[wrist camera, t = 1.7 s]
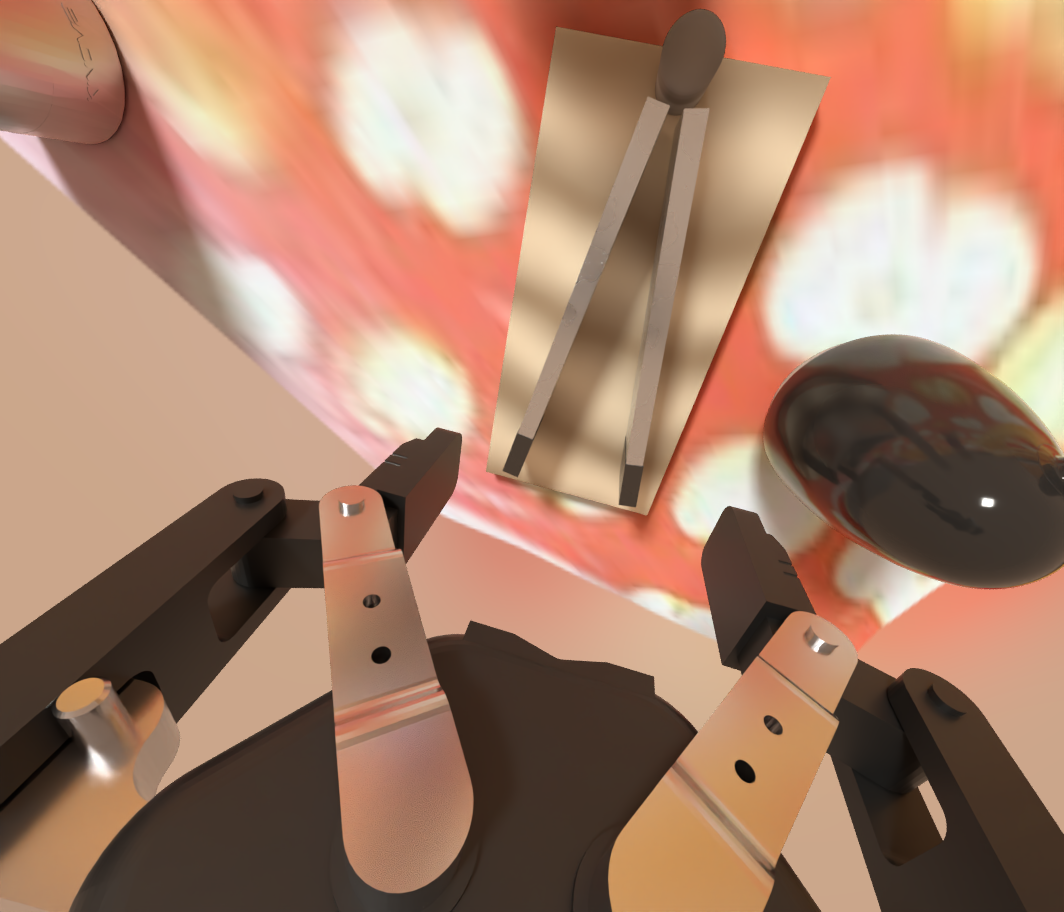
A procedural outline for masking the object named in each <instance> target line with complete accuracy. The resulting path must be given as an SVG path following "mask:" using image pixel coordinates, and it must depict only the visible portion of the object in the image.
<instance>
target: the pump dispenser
mask: <svg viewBox="0 0 1064 912" xmlns="http://www.w3.org/2000/svg"><path fill="white" fill-rule="evenodd" d="M763 439H764V447H765V451H766V455H767V457H768V460H769V462H770V464H771V466H772V467H773V469H774V471H775V472H776V474H777V475H778V477H779V478H780V479H781V481H782V482H783V483H784V484H785V485H786V487H787V488H788V489H789V490H790V491H791V492H792V493H793V494H794V495H795V496H796V497H797V498H798V499H799V500H800V501H801V502H802V503H803V504H804V505H805V506H806V507H807V508H808V509H809V510H810V511H812V512H813V513H814V514H815V515H816V516H817V517H819V518H820V519H821V520H822V521H824V522H825V523H826V524H828V525H829V526H830V527H832V528H833V529H834V530H836V531H837V532H839V533H840V534H842V535H843V536H845V537H846V538H848V539H850V540H851V541H853V542H855V543H856V544H858V545H860V546H861V547H863V548H865V549H867V550H869V551H870V552H872V553H874V554H876V555H878V556H880V557H882V558H884V559H886V560H888V561H890V562H892V563H894V564H896V565H898V566H900V567H903V568H905V569H907V570H910V571H912V572H915V573H917V574H920V575H923V576H926V577H928V578H931V579H935V580H938V581H941V582H945V583H948V584H953V585H957V586H962V587H968V588H975V589H1006V588H1013V587H1018V586H1023V585H1027V584H1031V583H1034V582H1037V581H1039V580H1042V579H1044V578H1046V577H1048V576H1050V575H1052V574H1054V573H1055V572H1057V571H1058V570H1060V569H1061V568H1062V567H1064V453H1063V451H1062V449H1061V448H1060V446H1059V444H1058V443H1057V441H1056V440H1055V438H1054V437H1053V435H1052V434H1051V432H1050V431H1049V429H1048V428H1047V427H1046V425H1045V424H1044V423H1043V422H1042V421H1041V419H1040V418H1039V417H1038V416H1037V415H1036V413H1035V412H1034V411H1033V410H1032V409H1031V408H1030V407H1029V406H1028V405H1027V404H1026V403H1025V402H1024V401H1023V400H1022V399H1021V398H1020V397H1019V396H1018V395H1017V394H1016V393H1015V392H1014V391H1013V390H1012V389H1011V388H1009V387H1008V386H1007V385H1006V384H1005V383H1003V382H1002V381H1001V380H999V379H998V378H997V377H996V376H994V375H993V374H991V373H990V372H989V371H987V370H986V369H984V368H983V367H981V366H980V365H978V364H977V363H975V362H974V361H972V360H971V359H969V358H967V357H966V356H964V355H962V354H961V353H959V352H957V351H955V350H953V349H951V348H949V347H946V346H944V345H942V344H939V343H937V342H934V341H931V340H928V339H924V338H920V337H915V336H909V335H895V334H891V335H877V336H870V337H865V338H860V339H856V340H853V341H850V342H847V343H843V344H840V345H837V346H834V347H831V348H829V349H826V350H824V351H822V352H820V353H818V354H816V355H814V356H813V357H811V358H809V359H808V360H806V361H805V362H803V363H802V364H801V365H799V366H798V367H797V368H796V369H795V370H794V371H793V372H791V373H790V375H789V376H788V377H787V378H786V379H785V380H784V381H783V383H782V384H781V385H780V387H779V388H778V390H777V392H776V394H775V395H774V397H773V400H772V402H771V405H770V408H769V410H768V413H767V416H766V419H765V424H764V432H763Z"/></svg>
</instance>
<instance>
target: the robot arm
mask: <svg viewBox="0 0 1064 912" xmlns="http://www.w3.org/2000/svg"><path fill="white" fill-rule="evenodd" d="M124 106H125V87H124V81H123V75H122V69H121V65H120V62H119V58H118V55H117V52H116V48H115V45H114V43H113V41H112V39H111V36H110V34H109V32H108V29H107V27H106V25H105V23H104V21H103V20H102V18H101V16H100V14H99V13H98V11H97V9H96V7H95V6H94V4H93V3H92V1H91V0H0V130H1V131H8V132H12V133H18V134H25V135H31V136H38V137H44V138H51V139H57V140H64V141H70V142H77V143H83V144H99V143H101V142H104V141H106V140H108V139H109V138H110V137H111V136H112V135H113V134H114V133H115V132H116V131H117V129H118V127H119V125H120V123H121V121H122V117H123V111H124ZM461 444H462V435H461V434H460V433H456V432H453V431H449V430H445V429H441V428H436V429H435V430H434V431H433V432H432V433H431V434H430V435H429V436H428V437H427V438H426V439H425V440H421V439H417V438H416V439H414V440H411V441H409V442H406V443H404V444H402V445H401V446H400V447H399V448H398V449H396V450H395V451H394V452H393V454H392V455H390V456H389V457H388V458H387V459H386V460H385V462H383V463H382V464H381V465H380V466H379V467H378V468H377V469H375V470H374V471H373V472H372V473H371V474H370V475H369V476H368V477H367V478H366V479H365V480H364V481H363V482H362V483H361V484H360V485H359V486H356V485H353V486H344V487H340V488H336V489H334V490H332V491H330V492H328V493H327V494H325V495H324V496H323V497H322V499H321V500H320V501H309V500H290V499H285V493H284V489H283V487H282V486H281V485H280V484H279V483H277V482H275V481H272V480H268V479H246V480H241V481H237V482H234V483H231V484H229V485H227V486H225V487H223V488H221V489H220V490H218V491H217V492H216V493H214V494H213V495H211V496H210V497H208V498H207V499H206V500H204V501H203V502H202V503H200V504H199V505H197V506H196V507H194V508H193V509H191V510H190V511H189V512H187V513H186V514H184V515H183V516H182V517H180V518H179V519H177V520H176V521H174V522H173V523H172V524H170V525H169V526H167V527H166V528H165V529H163V530H162V531H160V532H159V533H157V534H156V535H155V536H153V537H152V538H150V539H149V540H148V541H146V542H145V543H143V544H142V545H141V546H139V547H138V548H136V549H135V550H134V551H132V552H131V553H129V554H128V555H126V556H125V557H124V558H122V559H121V560H119V561H118V562H116V563H115V564H113V565H112V566H111V567H109V568H108V569H106V570H105V571H104V572H102V573H101V574H99V575H98V576H97V577H95V578H94V579H92V580H91V581H89V582H88V583H87V584H85V585H84V586H82V587H81V588H79V589H78V590H77V591H75V592H74V593H73V594H71V595H70V596H68V597H67V598H65V599H64V600H62V601H61V602H60V603H58V604H57V605H56V606H54V607H53V608H51V609H50V610H48V611H47V612H45V613H44V614H43V615H41V616H40V617H38V618H37V619H36V620H34V621H33V622H31V623H30V624H28V625H27V626H26V627H24V628H23V629H21V630H20V631H19V632H17V633H16V634H14V635H13V636H11V637H10V638H9V639H7V640H6V641H4V642H3V643H1V644H0V912H821V910H820V909H819V908H818V906H817V905H816V903H815V902H814V900H813V899H812V897H811V896H810V894H809V893H808V891H807V890H806V888H805V887H804V886H803V884H802V883H801V881H800V880H799V878H798V877H797V875H796V874H795V873H794V871H793V869H792V868H791V866H790V865H789V864H788V862H787V861H786V859H785V858H784V856H783V855H782V854H781V851H782V849H783V847H784V844H785V842H786V840H787V838H788V835H789V833H790V831H791V829H792V827H793V824H794V822H795V820H796V818H797V815H798V813H799V811H800V809H801V806H802V804H803V802H804V800H805V798H806V795H807V793H808V791H809V789H810V787H811V784H812V782H813V780H814V777H815V775H816V773H817V771H818V769H819V767H820V764H821V762H822V760H823V758H824V756H825V753H828V754H830V755H831V758H832V761H833V765H834V767H835V771H836V774H837V777H838V780H839V783H840V786H841V789H842V792H843V795H844V798H845V801H846V804H847V807H848V810H849V813H850V816H851V820H852V823H853V826H854V829H855V832H856V835H857V838H858V841H859V844H860V847H861V850H862V853H863V857H864V859H865V863H866V865H867V869H868V872H869V874H870V878H871V881H872V884H873V887H874V890H875V893H876V896H877V899H878V902H879V906H880V909H881V912H1064V834H1063V833H1062V832H1061V830H1060V828H1059V827H1058V825H1057V824H1056V822H1055V821H1054V819H1053V818H1052V816H1051V815H1050V813H1049V812H1048V810H1047V809H1046V807H1045V806H1044V804H1043V803H1042V801H1041V800H1040V798H1039V797H1038V795H1037V794H1036V792H1035V791H1034V789H1033V788H1032V787H1031V785H1030V783H1029V782H1028V781H1027V779H1026V778H1025V776H1024V775H1023V773H1022V771H1021V770H1020V769H1019V767H1018V766H1017V764H1016V763H1015V761H1014V760H1013V758H1012V757H1011V756H1010V754H1009V752H1008V751H1007V749H1006V748H1005V746H1004V745H1003V743H1002V742H1001V740H1000V739H999V737H998V736H997V734H996V733H995V731H994V730H993V728H992V727H991V726H990V724H989V723H988V721H987V719H986V718H985V716H984V715H983V714H982V712H981V711H980V710H979V708H978V707H977V706H976V705H975V704H974V703H973V702H972V701H971V700H970V699H969V698H968V697H967V696H966V695H965V694H964V693H963V692H962V691H960V690H959V689H958V688H956V687H955V686H954V685H952V684H951V683H949V682H948V681H946V680H944V679H943V678H941V677H939V676H937V675H935V674H933V673H931V672H928V671H926V670H922V669H916V668H910V669H907V670H906V671H905V672H904V673H903V674H902V675H901V676H899V677H898V678H897V679H895V678H894V677H892V676H889V675H888V674H886V673H884V672H882V671H880V670H878V669H876V668H874V667H872V666H870V665H868V664H866V663H865V662H863V661H861V660H859V659H858V655H857V652H856V650H855V647H854V646H853V644H852V643H851V641H850V640H849V639H848V638H847V636H846V635H845V634H844V633H843V632H842V631H840V630H839V629H838V628H837V627H836V626H834V625H833V624H832V623H830V622H829V621H827V620H825V619H823V618H821V617H820V616H817V615H816V613H815V611H814V609H813V607H812V605H811V603H810V600H809V598H808V596H807V594H806V592H805V590H804V588H803V586H802V584H801V582H800V580H799V578H797V573H796V571H795V569H794V567H793V566H791V565H792V563H791V561H790V559H789V557H788V554H787V552H786V550H785V549H784V548H783V547H782V546H781V545H780V543H779V542H778V541H777V540H776V539H775V538H774V537H773V536H772V535H770V534H766V532H765V529H764V527H763V525H762V523H761V520H760V518H759V516H758V514H757V513H754V512H750V511H746V510H743V509H739V508H735V507H731V506H728V507H726V508H725V509H724V511H723V512H722V514H721V516H720V518H719V520H718V522H717V524H716V526H715V527H714V529H713V531H712V533H711V535H710V537H709V539H708V541H707V543H706V545H705V547H704V549H703V553H702V559H701V566H702V571H703V576H704V581H705V586H706V591H707V595H708V600H709V605H710V610H711V615H712V619H713V624H714V629H715V634H716V639H717V643H718V648H719V653H720V658H721V663H722V665H724V666H727V667H731V668H734V669H737V670H740V671H741V674H742V677H741V678H740V679H739V681H738V682H737V683H736V684H735V686H734V687H733V688H732V689H731V691H730V692H729V693H728V695H727V696H726V697H725V698H724V700H723V701H722V702H721V704H720V705H719V706H718V708H717V709H716V710H715V711H714V713H713V714H712V715H711V717H710V718H709V719H708V720H707V722H706V723H705V724H704V726H703V727H702V728H701V729H700V731H699V732H698V731H697V730H696V729H695V728H694V727H693V725H692V724H691V723H690V722H689V721H688V720H687V719H686V718H685V717H684V716H683V715H682V714H681V713H680V712H679V711H677V710H676V709H675V708H674V707H673V706H672V705H670V704H669V703H668V702H666V701H665V700H664V699H662V698H661V697H659V696H657V695H656V694H655V688H654V677H653V676H650V675H646V674H643V673H640V672H637V671H633V670H630V669H627V668H624V667H620V666H617V665H613V664H610V663H607V662H589V661H574V660H573V661H572V660H561V659H557V658H555V657H553V656H551V655H549V654H548V653H546V652H544V651H543V650H541V649H539V648H538V647H536V646H534V645H532V644H531V643H529V642H527V641H525V640H524V639H522V638H520V637H519V636H517V635H515V634H513V633H509V632H506V631H503V630H500V629H496V628H493V627H490V626H487V625H483V624H480V623H477V622H473V621H470V623H469V625H468V628H467V630H466V633H465V634H451V635H442V636H436V637H432V638H429V639H426V636H425V633H424V629H423V626H422V622H421V618H420V615H419V611H418V607H417V604H416V600H415V597H414V593H413V589H412V585H411V582H410V578H409V575H408V571H407V567H406V563H407V562H408V560H409V559H410V557H411V556H412V554H413V553H414V551H415V550H416V548H417V547H418V545H419V544H420V542H421V541H422V539H423V538H424V536H425V535H426V533H427V532H428V530H429V529H430V527H431V526H432V524H433V523H434V521H435V520H436V518H437V517H438V515H439V514H440V512H441V511H442V509H443V508H444V506H445V505H446V503H447V502H448V500H449V499H450V497H451V495H452V494H453V492H454V489H455V486H456V483H457V479H458V471H459V462H460V453H461ZM291 588H325V599H326V612H327V626H328V640H329V653H330V666H331V680H332V690H331V691H330V692H328V693H326V694H324V695H323V696H321V697H319V698H317V699H316V700H314V701H312V702H310V703H309V704H307V705H305V706H304V707H302V708H300V709H298V710H296V711H295V712H293V713H291V714H289V715H288V716H286V717H284V718H282V719H280V720H279V721H277V722H275V723H273V724H272V725H270V726H268V727H266V728H265V729H263V730H261V731H259V732H258V733H256V734H254V735H252V736H251V737H249V738H247V739H245V740H244V741H242V742H240V743H238V744H237V745H235V746H233V747H231V748H229V749H228V750H226V751H224V752H223V753H221V754H219V755H217V756H216V757H214V758H212V759H210V760H208V761H207V762H205V763H203V764H201V765H200V766H198V767H196V768H194V769H193V770H191V771H189V772H188V773H186V774H184V775H183V776H182V777H180V778H178V779H177V780H175V781H174V782H173V783H171V784H170V785H168V786H167V787H166V788H164V789H163V790H162V791H161V792H159V793H158V794H157V795H156V796H155V794H156V791H157V787H158V785H159V783H160V781H161V779H162V777H163V776H164V774H165V772H166V771H167V769H168V768H169V766H170V764H171V763H172V761H173V760H174V758H175V756H176V753H177V751H178V748H179V743H180V732H179V729H178V727H177V722H178V721H179V720H180V719H181V718H182V716H183V715H184V714H185V713H186V712H187V711H188V709H189V708H190V707H191V706H192V705H193V703H194V702H195V701H196V700H197V699H198V697H199V696H200V695H201V694H202V693H203V692H204V690H205V689H206V688H207V687H208V686H209V684H210V683H211V682H212V681H213V680H214V679H215V677H216V676H217V675H218V674H219V673H220V671H221V670H222V669H223V668H224V667H225V666H226V664H227V663H228V662H229V661H230V660H231V658H232V657H233V656H234V655H235V654H236V652H237V651H238V650H239V649H240V648H241V647H242V645H243V644H244V643H245V642H246V641H247V639H248V638H249V637H250V636H251V635H252V634H253V632H254V631H255V630H256V629H257V628H258V626H259V625H260V624H261V623H262V622H263V621H264V619H265V618H266V617H267V616H268V615H269V613H270V612H271V611H272V610H273V609H274V607H275V606H276V605H277V604H278V603H279V602H280V600H281V599H282V598H283V597H284V596H285V594H286V593H287V592H288V591H289V590H290V589H291ZM927 780H928V781H929V783H930V785H931V786H932V789H933V791H934V793H935V795H936V797H937V799H938V801H939V803H940V805H941V807H942V809H943V812H944V814H945V818H946V823H947V832H946V836H945V839H944V840H942V838H941V836H940V834H939V832H938V830H937V828H936V825H935V823H934V821H933V819H932V817H931V815H930V813H929V810H928V808H927V806H926V804H925V802H924V800H923V797H922V795H921V793H920V791H919V789H918V786H920V785H921V784H922V783H924V782H925V781H927Z"/></svg>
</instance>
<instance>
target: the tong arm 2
mask: <svg viewBox="0 0 1064 912" xmlns="http://www.w3.org/2000/svg"><path fill="white" fill-rule="evenodd" d="M709 109H710V108H684V110H683V112H682V114H681V116H680V118H679V120H678V123H677V125H676V127H675V130H674V136H673V143H672V149H671V155H670V162H669V168H668V174H667V181H666V187H665V193H664V200H663V206H662V212H661V219H660V225H659V231H658V238H657V244H656V250H655V257H654V263H653V269H652V276H651V282H650V288H649V295H648V301H647V307H646V313H645V320H644V326H643V332H642V339H641V345H640V351H639V358H638V364H637V370H636V377H635V383H634V389H633V396H632V402H631V408H630V415H629V421H628V427H627V434H626V436H625V441H624V448H623V454H622V460H621V467H620V475H619V505H622V506H630V507H636V505H637V499H638V494H639V489H640V483H641V478H642V473H643V467H644V466H643V462H644V457H645V452H646V446H647V441H648V436H649V430H650V425H651V420H652V414H653V409H654V403H655V398H656V393H657V387H658V382H659V377H660V371H661V366H662V361H663V355H664V350H665V345H666V339H667V334H668V329H669V323H670V318H671V313H672V307H673V302H674V296H675V291H676V286H677V280H678V275H679V270H680V264H681V259H682V254H683V248H684V243H685V238H686V232H687V227H688V222H689V216H690V211H691V206H692V200H693V195H694V189H695V184H696V179H697V173H698V168H699V163H700V157H701V152H702V147H703V141H704V136H705V131H706V125H707V120H708V115H709Z"/></svg>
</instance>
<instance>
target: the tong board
mask: <svg viewBox="0 0 1064 912" xmlns="http://www.w3.org/2000/svg"><path fill="white" fill-rule="evenodd" d="M725 47H726V35H725V30H724V26H723V24H722V22H721V20H720V19H719V18H718V17H717V15H715V14H714V13H713V12H711V11H709V10H705V9H697V10H693V11H690V12H688V13H686V14H684V15H683V16H682V17H680V18H679V19H678V20H677V21H676V22H675V23H674V25H673V26H672V27H671V29H670V30H669V32H668V34H667V36H666V38H665V41H664V44H663V46H659V45H653V44H648V43H642V42H637V41H632V40H626V39H621V38H615V37H610V36H605V35H599V34H594V33H588V32H583V31H577V30H572V29H567V28H561V27H556V31H555V37H554V44H553V50H552V56H551V63H550V69H549V75H548V82H547V88H546V94H545V101H544V107H543V113H542V120H541V126H540V132H539V139H538V145H537V151H536V158H535V164H534V170H533V177H532V183H531V189H530V196H529V202H528V208H527V215H526V221H525V227H524V234H523V240H522V246H521V253H520V259H519V265H518V272H517V278H516V284H515V291H514V297H513V303H512V310H511V316H510V322H509V329H508V335H507V341H506V348H505V354H504V360H503V367H502V373H501V379H500V386H499V392H498V398H497V405H496V411H495V417H494V424H493V430H492V436H491V443H490V449H489V455H488V462H487V468H486V472H490V473H493V474H497V475H501V476H504V477H508V478H512V479H515V480H519V481H523V482H526V483H530V484H533V485H537V486H541V487H544V488H548V489H552V490H555V491H559V492H563V493H566V494H570V495H574V496H577V497H581V498H585V499H588V500H592V501H596V502H599V503H603V504H607V505H610V506H614V507H618V508H621V509H625V510H629V511H632V512H636V513H640V514H643V515H647V514H648V512H649V509H650V507H651V505H652V502H653V500H654V497H655V495H656V493H657V490H658V488H659V486H660V483H661V481H662V478H663V476H664V474H665V471H666V469H667V467H668V464H669V462H670V459H671V457H672V455H673V452H674V450H675V447H676V445H677V443H678V440H679V438H680V436H681V433H682V431H683V428H684V426H685V424H686V421H687V419H688V416H689V414H690V412H691V409H692V407H693V405H694V402H695V400H696V397H697V395H698V393H699V390H700V388H701V385H702V383H703V381H704V378H705V376H706V374H707V371H708V369H709V366H710V364H711V362H712V359H713V357H714V354H715V352H716V350H717V347H718V345H719V343H720V340H721V338H722V335H723V333H724V331H725V328H726V326H727V323H728V321H729V319H730V316H731V314H732V312H733V309H734V307H735V304H736V302H737V300H738V297H739V295H740V292H741V290H742V288H743V285H744V283H745V281H746V278H747V276H748V273H749V271H750V269H751V266H752V264H753V261H754V259H755V257H756V254H757V252H758V250H759V247H760V245H761V242H762V240H763V238H764V235H765V233H766V230H767V228H768V226H769V223H770V221H771V219H772V216H773V214H774V211H775V209H776V207H777V204H778V202H779V200H780V197H781V195H782V192H783V190H784V188H785V185H786V183H787V180H788V178H789V176H790V173H791V171H792V169H793V166H794V164H795V161H796V159H797V157H798V154H799V152H800V149H801V147H802V145H803V142H804V140H805V138H806V135H807V133H808V130H809V128H810V126H811V123H812V121H813V118H814V116H815V114H816V111H817V109H818V107H819V104H820V102H821V99H822V97H823V95H824V92H825V90H826V87H827V85H828V83H829V80H830V78H831V77H826V76H821V75H816V74H810V73H805V72H799V71H794V70H789V69H783V68H778V67H772V66H767V65H761V64H756V63H751V62H745V61H740V60H734V59H729V58H724V53H725ZM647 97H651V98H653V99H655V100H658V101H660V102H663V103H665V104H667V105H670V107H669V110H668V113H667V116H666V119H665V122H664V124H663V127H662V129H661V132H660V134H659V137H658V139H657V141H656V144H655V146H654V149H653V151H652V154H651V156H650V158H649V161H648V163H647V166H646V168H645V171H644V173H643V175H642V178H641V180H640V183H639V185H638V187H637V190H636V192H635V195H634V197H633V200H632V202H631V204H630V207H629V209H628V212H627V214H626V217H625V219H624V221H623V224H622V226H621V229H620V231H619V233H618V236H617V238H616V241H615V243H614V246H613V248H612V250H611V253H610V255H609V258H608V260H607V263H606V265H605V267H604V270H603V272H602V275H601V277H600V280H599V282H598V284H597V287H596V289H595V292H594V294H593V296H592V299H591V301H590V304H589V306H588V309H587V311H586V313H585V316H584V318H583V321H582V323H581V326H580V328H579V330H578V333H577V335H576V338H575V340H574V342H573V345H572V347H571V350H570V352H569V355H568V357H567V359H566V362H565V364H564V367H563V369H562V372H561V374H560V376H559V379H558V381H557V384H556V386H555V388H554V391H553V393H552V396H551V398H550V401H549V403H548V405H547V408H546V410H545V413H544V417H543V419H542V422H541V424H540V427H539V429H538V431H537V434H536V436H535V439H534V441H533V444H532V446H531V448H530V451H529V453H528V455H527V458H526V460H525V462H524V464H523V467H522V469H521V471H520V474H519V476H518V477H516V476H513V475H511V474H508V473H506V472H504V471H503V468H504V465H505V463H506V460H507V458H508V455H509V452H510V450H511V447H512V445H513V442H514V439H515V437H516V434H517V432H518V430H519V428H520V426H521V424H522V421H523V418H524V416H525V413H526V411H527V408H528V406H529V403H530V400H531V398H532V395H533V393H534V390H535V387H536V385H537V382H538V380H539V377H540V374H541V372H542V369H543V367H544V364H545V361H546V359H547V356H548V354H549V351H550V349H551V346H552V343H553V341H554V338H555V336H556V333H557V330H558V328H559V325H560V323H561V320H562V317H563V315H564V312H565V310H566V307H567V304H568V302H569V299H570V297H571V294H572V292H573V289H574V286H575V284H576V281H577V279H578V276H579V273H580V271H581V268H582V266H583V263H584V260H585V258H586V255H587V253H588V250H589V247H590V245H591V242H592V240H593V237H594V235H595V232H596V229H597V227H598V224H599V222H600V219H601V216H602V214H603V211H604V209H605V206H606V203H607V201H608V198H609V196H610V193H611V190H612V188H613V185H614V183H615V180H616V178H617V175H618V172H619V170H620V167H621V165H622V162H623V159H624V157H625V154H626V152H627V149H628V146H629V144H630V141H631V139H632V136H633V133H634V131H635V128H636V126H637V123H638V121H639V118H640V115H641V113H642V110H643V108H644V105H645V102H646V100H647ZM684 108H710V109H709V115H708V120H707V125H706V131H705V136H704V141H703V147H702V152H701V157H700V163H699V168H698V173H697V179H696V184H695V189H694V195H693V200H692V206H691V211H690V216H689V222H688V227H687V232H686V238H685V243H684V248H683V254H682V259H681V264H680V270H679V275H678V280H677V286H676V291H675V296H674V302H673V307H672V313H671V318H670V323H669V329H668V334H667V339H666V345H665V350H664V355H663V361H662V366H661V371H660V377H659V382H658V387H657V393H656V398H655V403H654V409H653V414H652V420H651V425H650V430H649V436H648V441H647V446H646V452H645V457H644V462H643V466H644V467H643V473H642V478H641V483H640V489H639V494H638V499H637V505H636V507H630V506H622V505H619V475H620V467H621V460H622V454H623V448H624V441H625V436H626V434H627V427H628V421H629V415H630V408H631V402H632V396H633V389H634V383H635V377H636V370H637V364H638V358H639V351H640V345H641V339H642V332H643V326H644V320H645V313H646V307H647V301H648V295H649V288H650V282H651V276H652V269H653V263H654V257H655V250H656V244H657V238H658V231H659V225H660V219H661V212H662V206H663V200H664V193H665V187H666V181H667V174H668V168H669V162H670V155H671V149H672V143H673V136H674V130H675V127H676V125H677V123H678V120H679V118H680V116H681V114H682V112H683V110H684Z"/></svg>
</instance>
